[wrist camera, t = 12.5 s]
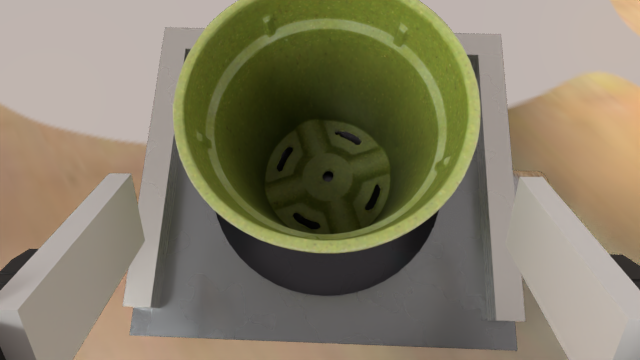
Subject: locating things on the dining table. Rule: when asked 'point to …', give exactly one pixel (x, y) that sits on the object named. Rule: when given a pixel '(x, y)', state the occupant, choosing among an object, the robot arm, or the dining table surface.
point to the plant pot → (326, 119)
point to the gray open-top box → (331, 268)
